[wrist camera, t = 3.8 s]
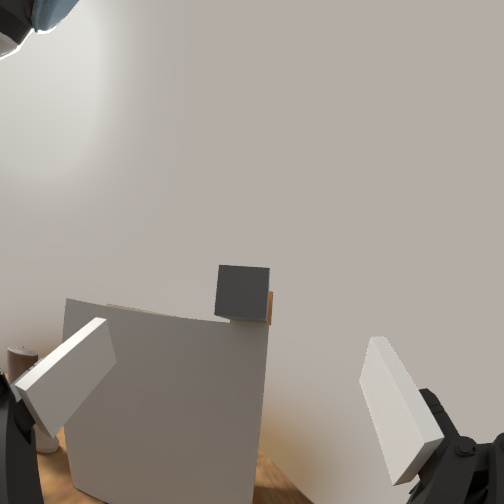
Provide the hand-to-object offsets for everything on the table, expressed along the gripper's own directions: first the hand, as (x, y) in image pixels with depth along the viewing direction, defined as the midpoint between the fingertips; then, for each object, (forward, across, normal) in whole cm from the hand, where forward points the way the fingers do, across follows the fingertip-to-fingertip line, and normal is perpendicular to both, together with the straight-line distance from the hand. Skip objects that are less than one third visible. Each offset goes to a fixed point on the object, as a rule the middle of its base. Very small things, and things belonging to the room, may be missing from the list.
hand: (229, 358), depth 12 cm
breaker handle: (+17, 0, +7) cm, 19 cm away
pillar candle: (+18, +61, +41) cm, 76 cm away
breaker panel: (+7, +12, +36) cm, 38 cm away
